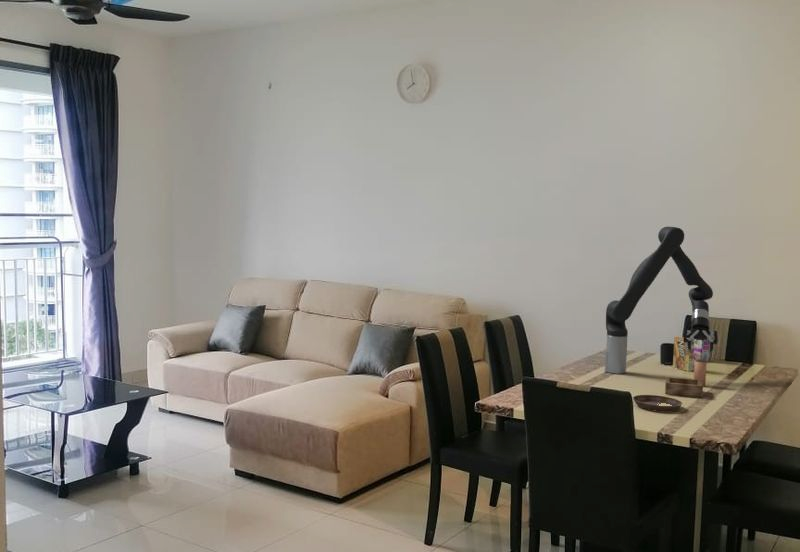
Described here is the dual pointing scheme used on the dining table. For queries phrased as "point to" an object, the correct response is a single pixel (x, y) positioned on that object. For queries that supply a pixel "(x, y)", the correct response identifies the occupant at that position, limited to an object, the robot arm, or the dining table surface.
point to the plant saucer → (656, 402)
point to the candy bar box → (702, 349)
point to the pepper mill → (700, 369)
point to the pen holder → (666, 353)
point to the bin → (684, 387)
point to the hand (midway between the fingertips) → (700, 349)
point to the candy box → (683, 354)
